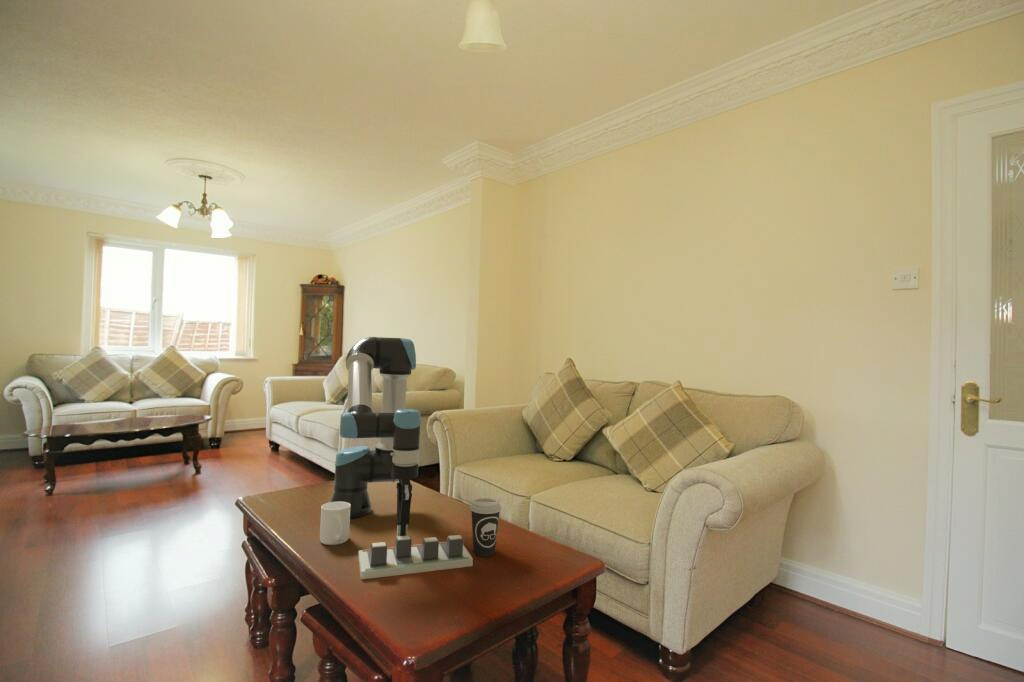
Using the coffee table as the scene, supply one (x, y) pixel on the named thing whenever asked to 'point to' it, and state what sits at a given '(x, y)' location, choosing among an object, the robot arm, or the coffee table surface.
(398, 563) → the panel
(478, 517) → the coffee cup
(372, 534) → the coffee table surface
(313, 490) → the coffee table surface
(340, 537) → the mug
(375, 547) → the block
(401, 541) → the block
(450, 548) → the block
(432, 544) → the block
